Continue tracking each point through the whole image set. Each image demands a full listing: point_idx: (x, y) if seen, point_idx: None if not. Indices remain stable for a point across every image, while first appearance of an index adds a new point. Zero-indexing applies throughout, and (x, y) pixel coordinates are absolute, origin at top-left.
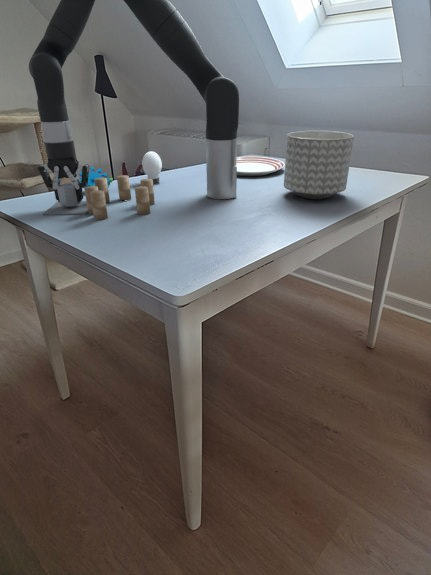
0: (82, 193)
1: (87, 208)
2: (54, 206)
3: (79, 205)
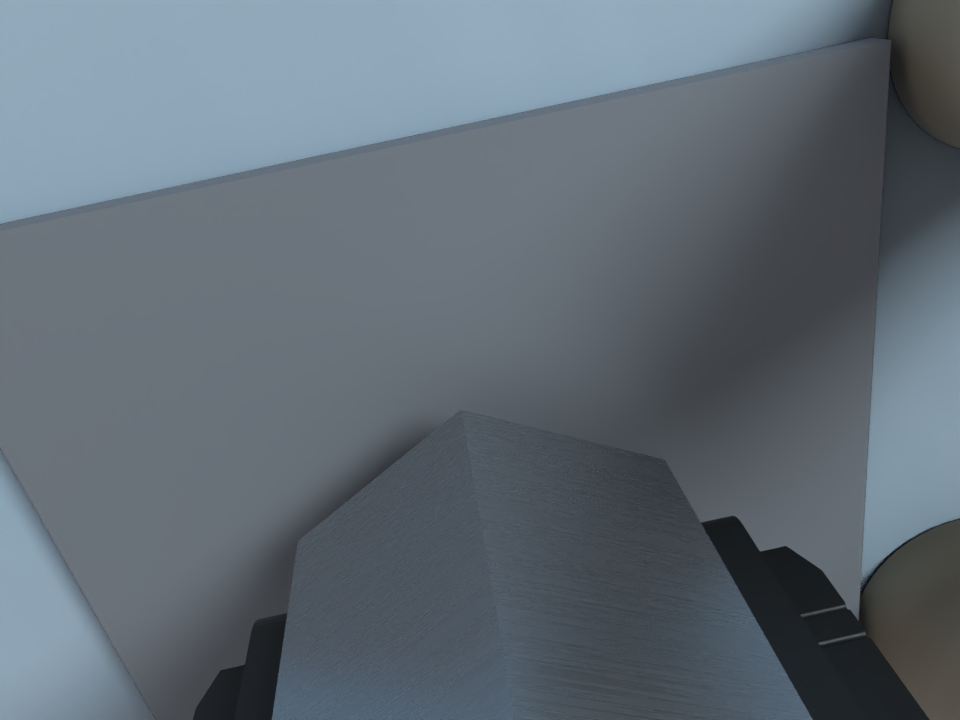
0: (873, 665)
1: (818, 542)
2: (137, 574)
3: (603, 430)
